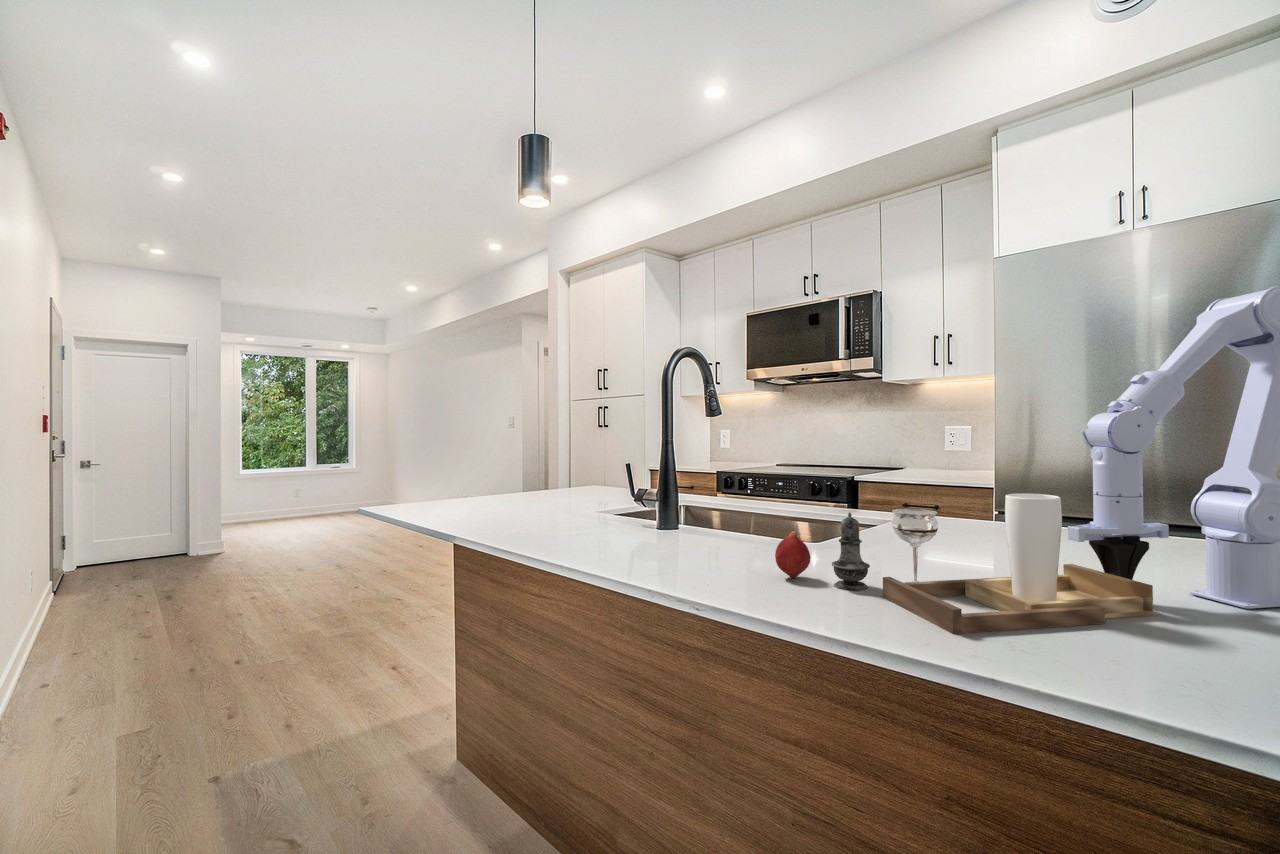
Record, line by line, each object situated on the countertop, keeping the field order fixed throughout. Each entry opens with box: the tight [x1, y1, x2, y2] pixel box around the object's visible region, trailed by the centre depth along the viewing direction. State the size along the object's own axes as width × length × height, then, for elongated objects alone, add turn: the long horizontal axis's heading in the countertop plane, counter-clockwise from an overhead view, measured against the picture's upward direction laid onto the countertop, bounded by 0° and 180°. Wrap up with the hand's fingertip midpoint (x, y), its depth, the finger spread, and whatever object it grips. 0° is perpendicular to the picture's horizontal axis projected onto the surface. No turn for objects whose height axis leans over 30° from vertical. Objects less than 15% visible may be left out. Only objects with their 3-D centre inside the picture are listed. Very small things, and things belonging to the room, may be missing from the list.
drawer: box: [964, 563, 1154, 619], centre depth 88 cm, size 18×13×4 cm
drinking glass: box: [1004, 493, 1063, 602], centre depth 87 cm, size 7×7×15 cm
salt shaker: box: [831, 511, 871, 592], centre depth 100 cm, size 6×6×12 cm
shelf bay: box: [882, 576, 1106, 634], centre depth 86 cm, size 21×17×3 cm
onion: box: [774, 530, 811, 579], centre depth 106 cm, size 6×6×8 cm
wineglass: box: [891, 508, 939, 583], centre depth 99 cm, size 7×7×12 cm
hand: (1118, 589), depth 89 cm, fingers closed
